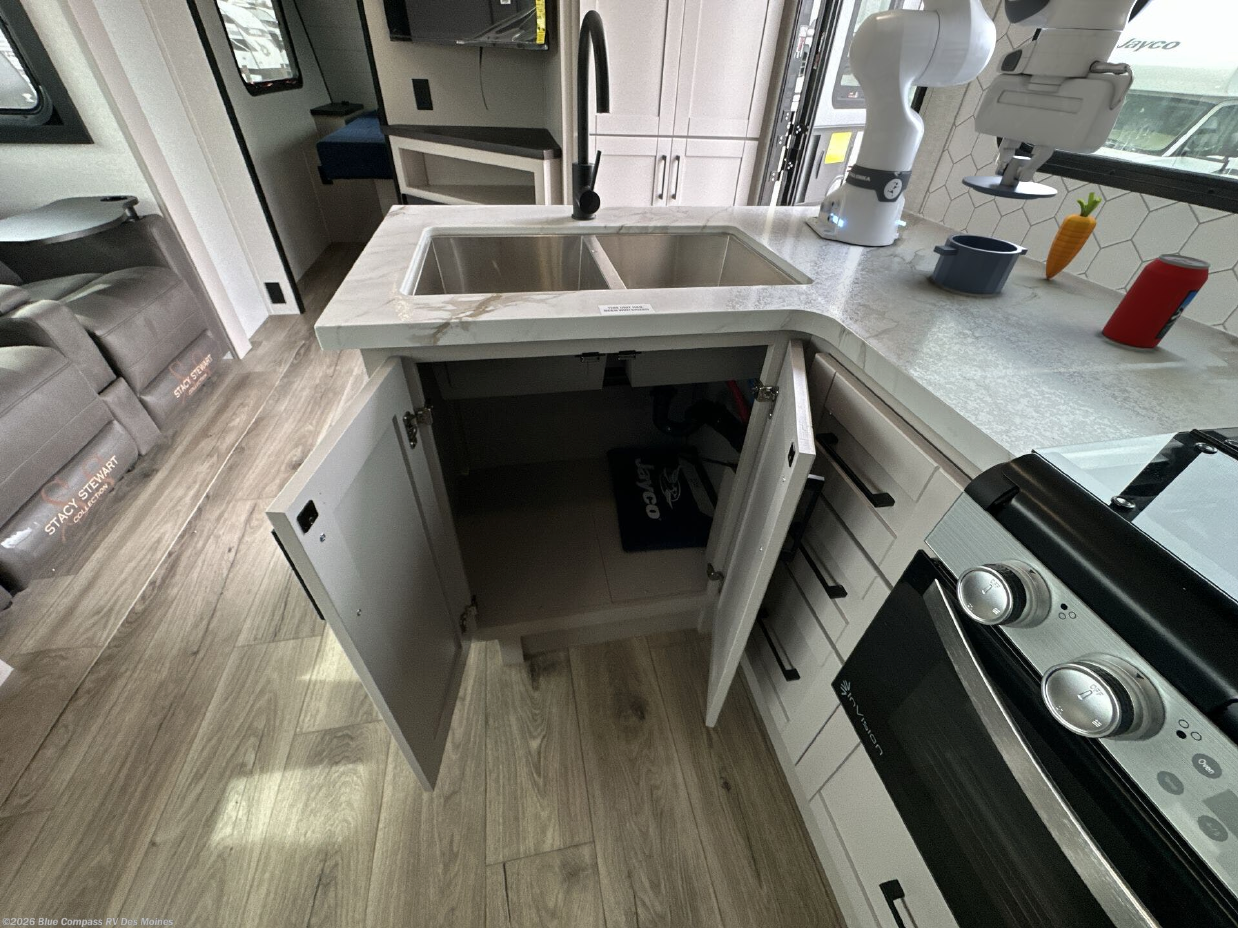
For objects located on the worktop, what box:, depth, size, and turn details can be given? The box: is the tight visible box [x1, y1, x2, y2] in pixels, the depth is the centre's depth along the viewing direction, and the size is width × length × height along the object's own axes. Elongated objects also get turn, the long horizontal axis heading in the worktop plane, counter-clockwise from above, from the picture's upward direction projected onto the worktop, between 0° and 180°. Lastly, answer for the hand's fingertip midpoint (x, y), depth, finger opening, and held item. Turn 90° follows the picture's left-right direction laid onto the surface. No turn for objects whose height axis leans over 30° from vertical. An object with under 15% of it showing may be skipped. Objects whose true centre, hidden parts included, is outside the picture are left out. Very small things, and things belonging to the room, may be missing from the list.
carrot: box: [1045, 191, 1103, 280], centre depth 95 cm, size 5×5×15 cm
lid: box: [961, 155, 1058, 201], centre depth 76 cm, size 12×12×5 cm
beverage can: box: [1102, 253, 1211, 349], centre depth 73 cm, size 7×7×12 cm
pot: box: [930, 233, 1029, 296], centre depth 91 cm, size 11×17×8 cm
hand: (1011, 178), depth 76 cm, fingers closed on lid, 2 cm apart
